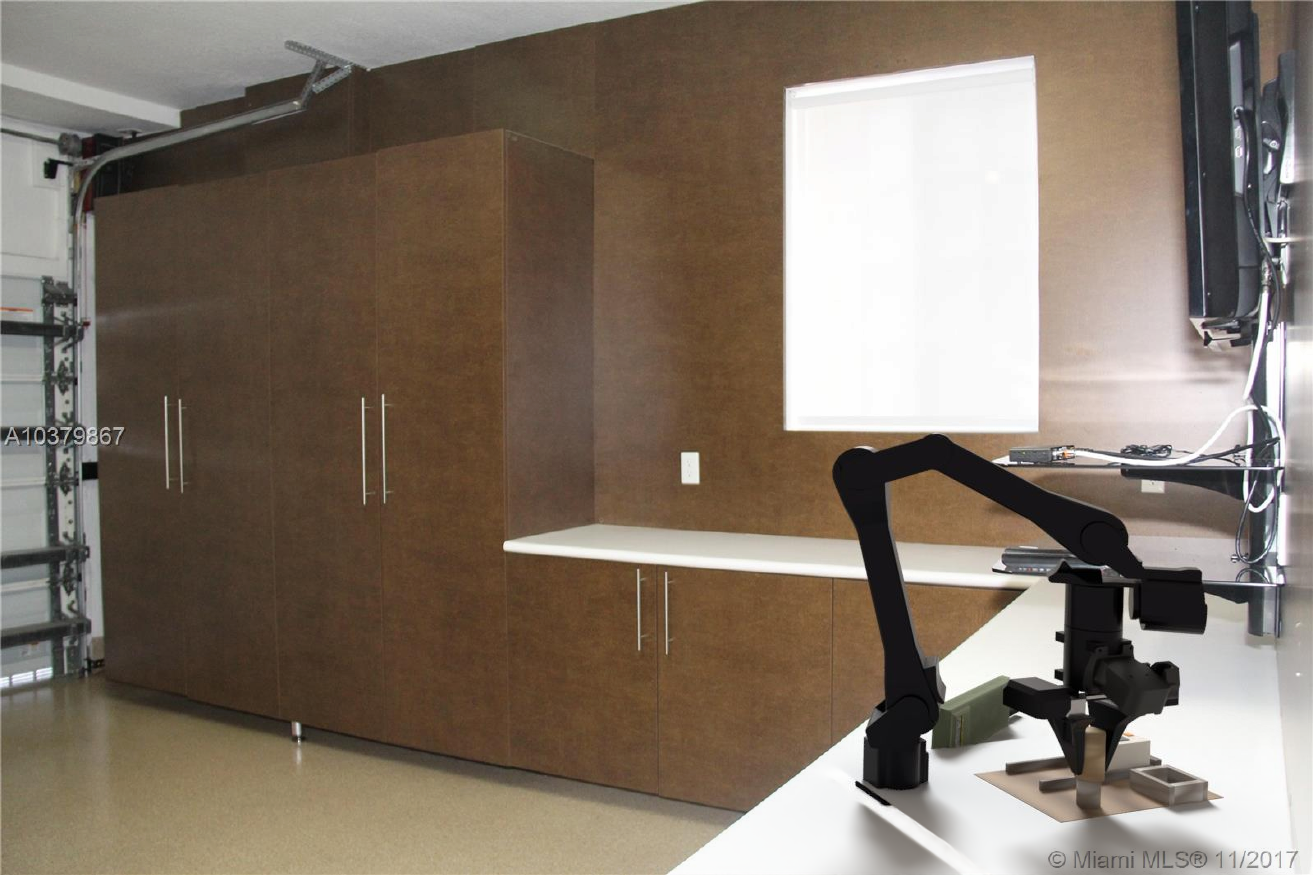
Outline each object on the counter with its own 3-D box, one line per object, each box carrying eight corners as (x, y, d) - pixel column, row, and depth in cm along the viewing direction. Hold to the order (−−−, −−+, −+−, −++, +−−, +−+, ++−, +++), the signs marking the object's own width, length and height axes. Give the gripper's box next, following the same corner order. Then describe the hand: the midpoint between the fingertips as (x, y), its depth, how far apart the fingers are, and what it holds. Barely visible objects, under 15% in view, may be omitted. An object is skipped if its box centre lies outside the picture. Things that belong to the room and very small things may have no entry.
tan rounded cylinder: (1087, 812, 104) (1089, 736, 104) (1066, 801, 107) (1068, 727, 106) (1110, 808, 105) (1112, 733, 105) (1089, 798, 108) (1091, 725, 107)
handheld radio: (925, 756, 125) (1005, 712, 144) (950, 764, 123) (1028, 718, 142) (929, 704, 125) (1008, 667, 143) (953, 711, 122) (1031, 672, 141)
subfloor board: (1060, 836, 101) (1061, 802, 101) (973, 786, 114) (974, 756, 114) (1223, 810, 109) (1224, 779, 109) (1123, 766, 122) (1124, 738, 122)
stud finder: (1108, 775, 114) (1109, 744, 114) (1079, 762, 118) (1080, 732, 118) (1149, 770, 116) (1150, 739, 116) (1119, 757, 120) (1119, 727, 120)
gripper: (1078, 650, 95) (1073, 812, 95) (1225, 638, 101) (1221, 790, 101) (1001, 625, 105) (997, 771, 105) (1139, 615, 111) (1135, 754, 112)
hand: (1089, 772), depth 106 cm, fingers closed on tan rounded cylinder, 3 cm apart
